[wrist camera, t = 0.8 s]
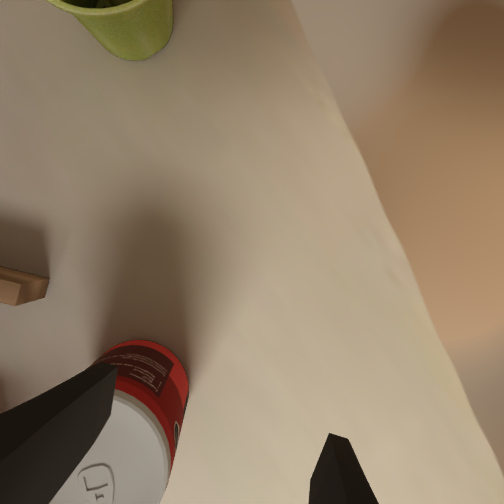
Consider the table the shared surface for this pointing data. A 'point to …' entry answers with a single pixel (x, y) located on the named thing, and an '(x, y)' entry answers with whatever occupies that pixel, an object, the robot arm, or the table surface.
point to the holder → (20, 287)
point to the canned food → (134, 430)
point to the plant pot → (124, 24)
